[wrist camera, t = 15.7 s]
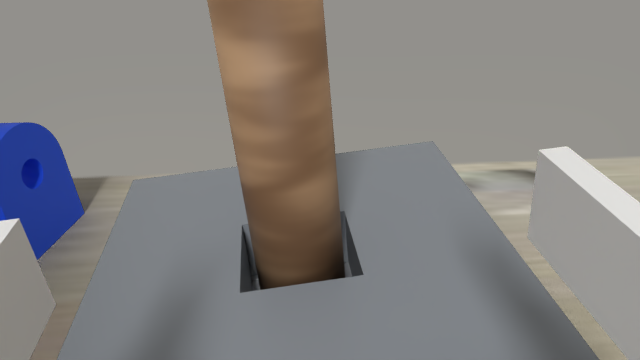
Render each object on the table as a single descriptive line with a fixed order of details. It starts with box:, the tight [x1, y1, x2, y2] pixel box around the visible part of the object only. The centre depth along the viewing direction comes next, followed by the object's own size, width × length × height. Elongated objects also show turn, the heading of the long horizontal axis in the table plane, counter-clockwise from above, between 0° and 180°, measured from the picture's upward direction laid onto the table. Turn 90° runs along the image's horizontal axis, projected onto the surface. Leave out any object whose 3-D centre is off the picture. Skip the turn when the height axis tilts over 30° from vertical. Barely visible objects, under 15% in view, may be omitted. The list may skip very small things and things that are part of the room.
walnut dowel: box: [207, 0, 345, 290], centre depth 24 cm, size 4×4×16 cm
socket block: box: [57, 141, 599, 360], centre depth 27 cm, size 20×20×5 cm
